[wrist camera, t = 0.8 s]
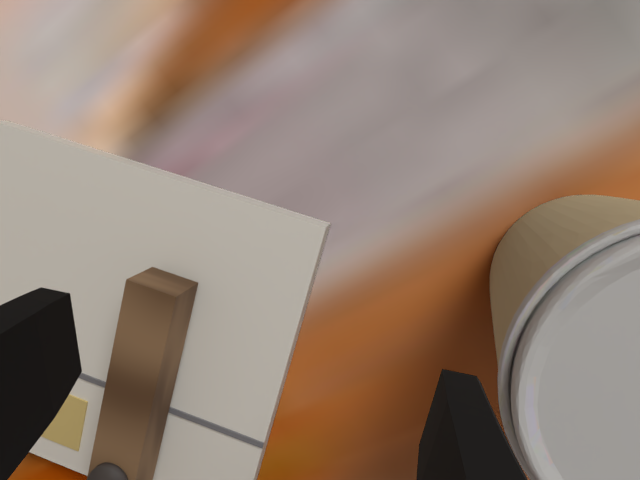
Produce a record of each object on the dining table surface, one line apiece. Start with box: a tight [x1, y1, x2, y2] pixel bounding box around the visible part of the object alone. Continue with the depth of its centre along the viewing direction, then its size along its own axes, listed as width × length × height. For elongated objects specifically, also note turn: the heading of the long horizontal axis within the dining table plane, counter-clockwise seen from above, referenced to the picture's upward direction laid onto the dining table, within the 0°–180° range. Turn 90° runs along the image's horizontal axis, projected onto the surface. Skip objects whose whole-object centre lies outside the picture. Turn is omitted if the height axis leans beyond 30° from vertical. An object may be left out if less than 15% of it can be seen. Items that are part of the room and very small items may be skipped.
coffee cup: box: [490, 195, 640, 480], centre depth 19 cm, size 9×9×12 cm
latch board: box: [0, 121, 331, 480], centre depth 29 cm, size 18×18×1 cm
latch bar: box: [87, 267, 198, 480], centre depth 27 cm, size 12×2×3 cm, turn 164°
